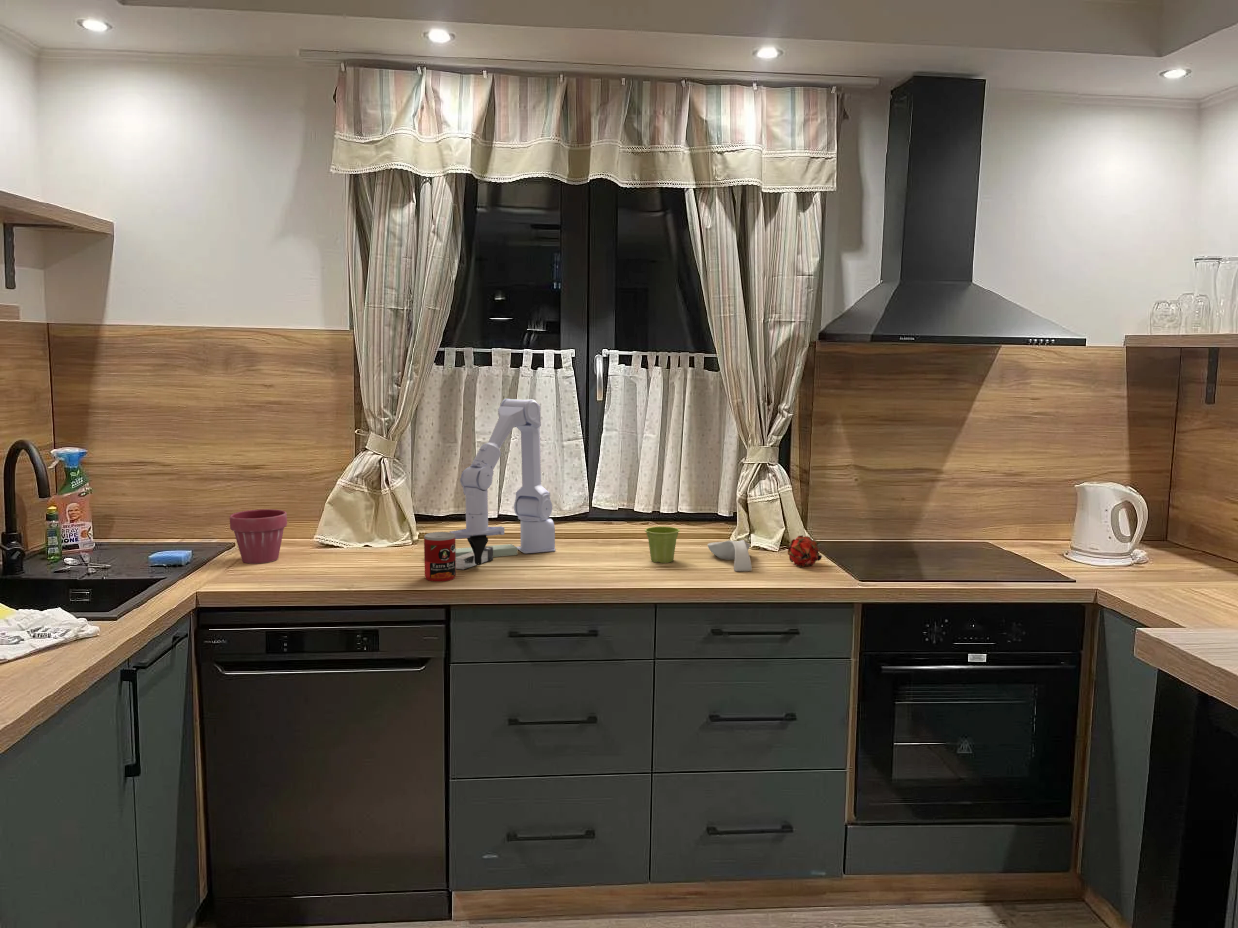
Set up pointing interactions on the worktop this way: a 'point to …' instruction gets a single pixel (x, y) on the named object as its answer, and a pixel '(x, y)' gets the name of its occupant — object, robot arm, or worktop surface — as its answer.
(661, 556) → the plant pot
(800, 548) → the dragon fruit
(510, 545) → the pale green flat bar
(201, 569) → the worktop surface
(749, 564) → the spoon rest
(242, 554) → the plant pot
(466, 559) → the latch bar
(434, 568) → the canned food
